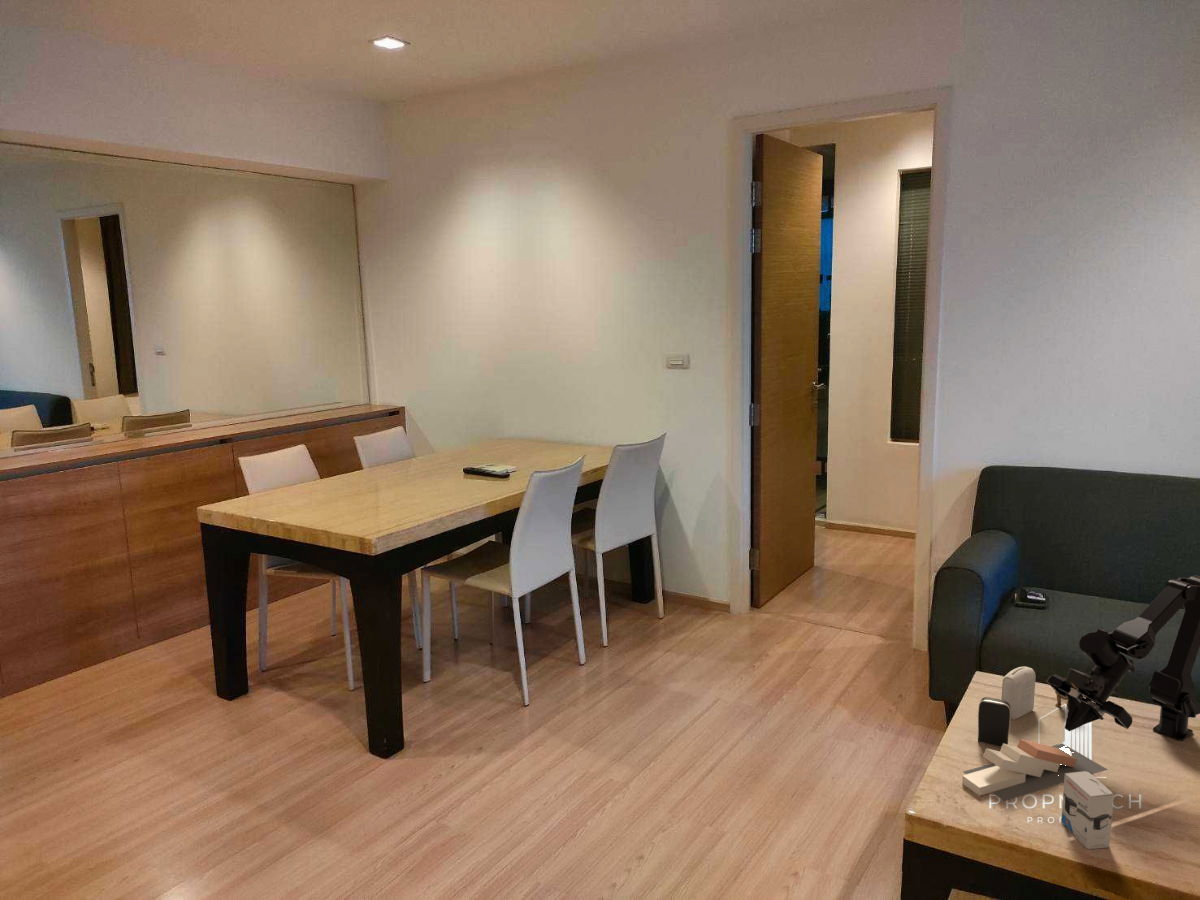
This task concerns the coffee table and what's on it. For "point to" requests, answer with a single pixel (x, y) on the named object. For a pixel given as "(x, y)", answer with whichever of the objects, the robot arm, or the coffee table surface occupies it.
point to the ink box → (1087, 809)
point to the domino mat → (1044, 776)
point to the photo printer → (1019, 691)
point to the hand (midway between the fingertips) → (1067, 729)
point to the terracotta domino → (1046, 753)
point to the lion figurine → (1062, 698)
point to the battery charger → (993, 721)
